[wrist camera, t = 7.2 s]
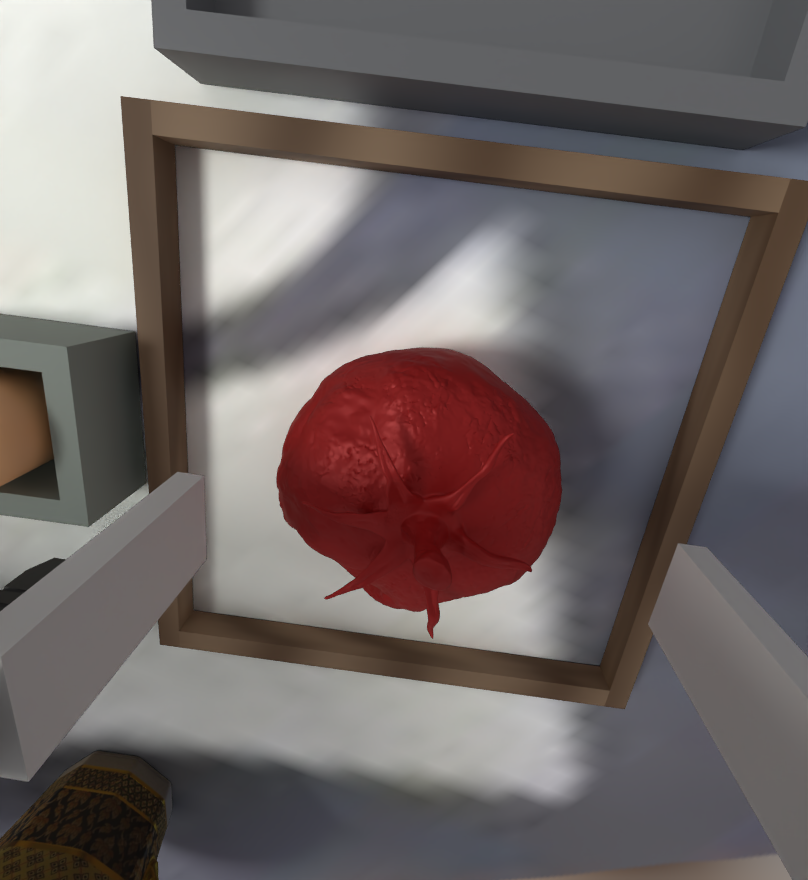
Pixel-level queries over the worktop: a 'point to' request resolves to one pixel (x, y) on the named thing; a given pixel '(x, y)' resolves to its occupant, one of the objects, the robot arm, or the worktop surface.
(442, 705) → the worktop surface
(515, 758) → the worktop surface
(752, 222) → the wooden flat square frame
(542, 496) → the pomegranate
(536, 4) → the tray
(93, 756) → the ceramic cup
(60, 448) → the button housing
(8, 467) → the button
